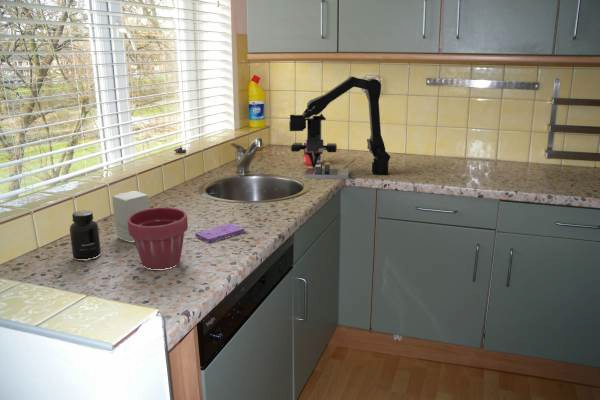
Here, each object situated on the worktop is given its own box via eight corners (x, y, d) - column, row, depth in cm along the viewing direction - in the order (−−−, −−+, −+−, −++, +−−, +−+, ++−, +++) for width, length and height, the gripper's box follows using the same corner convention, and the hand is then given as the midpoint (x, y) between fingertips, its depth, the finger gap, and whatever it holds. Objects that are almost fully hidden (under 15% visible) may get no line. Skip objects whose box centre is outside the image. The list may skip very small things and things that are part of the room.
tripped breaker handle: (329, 170, 215) (330, 162, 214) (329, 171, 213) (329, 163, 212) (324, 170, 216) (325, 161, 215) (324, 171, 213) (324, 163, 212)
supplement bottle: (88, 263, 128) (82, 218, 125) (67, 259, 131) (60, 215, 127) (107, 253, 134) (102, 210, 131) (87, 250, 137) (81, 207, 133)
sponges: (195, 238, 146) (194, 232, 146) (230, 228, 154) (230, 222, 154) (208, 245, 141) (208, 238, 141) (245, 233, 150) (244, 227, 149)
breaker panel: (348, 172, 219) (349, 160, 217) (347, 179, 208) (348, 166, 207) (307, 171, 221) (307, 159, 220) (304, 177, 211) (304, 165, 209)
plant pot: (176, 278, 120) (172, 227, 116) (121, 273, 122) (115, 223, 119) (198, 254, 134) (195, 208, 130) (148, 251, 136) (144, 205, 132)
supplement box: (153, 236, 146) (149, 194, 143) (129, 243, 141) (125, 200, 137) (139, 230, 151) (135, 189, 147) (116, 237, 146) (111, 195, 142)
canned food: (314, 166, 230) (314, 142, 226) (300, 164, 234) (300, 140, 231) (323, 163, 235) (324, 140, 232) (310, 161, 240) (310, 138, 237)
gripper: (289, 133, 204) (289, 171, 208) (335, 134, 201) (335, 172, 206) (292, 129, 214) (293, 165, 219) (337, 130, 212) (336, 166, 216)
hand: (314, 167), depth 215 cm, fingers closed
